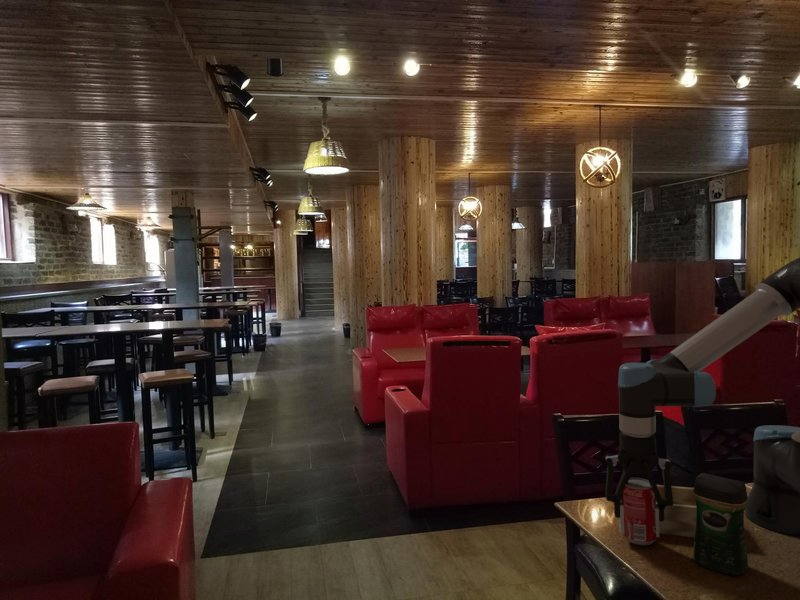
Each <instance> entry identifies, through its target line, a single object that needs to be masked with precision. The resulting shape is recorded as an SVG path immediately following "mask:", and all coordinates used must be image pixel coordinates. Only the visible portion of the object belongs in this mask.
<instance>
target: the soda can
mask: <svg viewBox="0 0 800 600" xmlns="http://www.w3.org/2000/svg"><path fill="white" fill-rule="evenodd" d="M652 487H653V486H651V485H650V483H649V480H648V479H645V478H642V477H630V479H629V481H628V484H627V485H626V484H625V488H624V490H623V497H622V500H621V501H622V505H623V506H624V534H622V535H623V536H624V538H625V539H626V540H627V541H628V542H629V543H631V544H634V545H639V546H648V545H652V544H653V543H655V542H656V541H657V538H658V537H656V511H655V508H656V498H655V492H654V490H653V489H652Z"/></svg>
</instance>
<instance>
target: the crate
mask: <svg viewBox="0 0 800 600" xmlns="http://www.w3.org/2000/svg"><path fill="white" fill-rule="evenodd" d="M656 485H657V488H658V490H659V493H660V495H661V498H662V499H663V498H665V492H664V484H656ZM671 488H672V496H673V506H666V507H665V509H664V521H659V535H661V534H662V535H669V534H670V535H669V536H671V535H673V536H680V537H681V536H682V537H689V538H695V531H696V520H697V507H696V502H695V499H694V496H693V490H694V487H687V486H675V485H671ZM656 504H657V501H656Z"/></svg>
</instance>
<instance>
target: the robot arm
mask: <svg viewBox="0 0 800 600" xmlns="http://www.w3.org/2000/svg"><path fill="white" fill-rule="evenodd" d="M799 309H800V257H797V258H795V259H793V260H791V261H789V263H786V264H785V265H783V266H781V267H780V268H779V269H777V270H776V271H774V272H773V273H771V274H770V275H769V276H767V277H765V278H764V279H763V280H761V281H760V282H758V283H757V284H756V286H755V291H754V292H752V293H751V294H750V295H748V296H747V297H745V298H744V299H743V300H741V301H739V303H737V304H736V305H734V306H733V307H732V308H730V309H729V310H727V311H726V312H724V313H723V314H721V315H720V316H719V317H718V318H716V319H715V320H713V321H711V323H709V324H708V325H705V327H704V328H702V329H700V330H699V331H697V333H695V334H694V335H692V336H691V337H689V338H687V340H685V341H684V342H683V343H681V344H679V345H678V346H676V347H675V348H674V349H673V350H671V351H670V352H668V353H667V354H665V355H664V356H663V357H661V358H659V359H655V358H654V359H650V360H648V361H646V362H625V363H623V364H621V365H620V366H619V369H618V377H617V378H618V383H617V387H618V407H619V408H618V410H619V411H618V414H619V415H618V421H619V423H618V424H619V426H618V427H619V430H620V431H619V436H618V438H619V450H618V453H617V454H615V455H610V454H607V455H605V462H606V465H607V468H606V470H607V471H606V481H605V482H606V483H605V493H604V494H605V495H604V496H605V499H606V501H608V502H612V503H613V513H614V517H615V518H619V519H618V522H619V523H618V525H619V532H620V534H621V535H623V534H624V506H623V505H622V501H621V500H622V497H623V490H624V488H625V484H626V485H627V484H628V481H629V479H630V478H632V477H631V476H632V475H641V476H646V478H647V480H648V481H649V483H650V485H651V486H653V487H652V489H653V490H654V492H655V498H656V501H657V504H656V508H655V511H656V537H657V538H660V533H659V521H664V509H665V507H666V506H673V496H672V488H671V486H672V479H671V471H672V467H673V464H672V462H671V461H670V459H669V458H661V457H659V456H658V455H657V436H656V434H655V433H656V432H657V426H656V425H657V424H656V423H657V419H656V418H657V416H656V414H657V411H656V408H657V407H694V408H697V407H708V406H711V405H712V404H713V403H714V401H715V399H716V395H717V391H716V383H715V381H714V378H713V376H712V375H711V374H710V373H708V372H705V371H703V370H704V369H705V368H706V367H708V366H710V365H711V364H712V363H714V362H715V361H716V360H718V359H719V358H721V357H722V356H724V355H725V354H727V353H728V352H730V351H731V350H732V349H735V347H737V346H738V345H741V343H742V342H745V341H746V340H747V339H749V338H750V337H751V336H753V335H754V334H756V333H758V332H759V331H760V330H761V329H763V328H764V327H766V326H767V325H769V324H770V323H772V322H773V321H774V320H776V319H778V318H779V317H780V316H786V317H788V316H790V315H791V314H793V313H794V312H795V311H797V310H799ZM752 441H753V485H752V487H751V490H750V492H749V494H748V495H747V496H748V503H747V506H746V508H745V510H744V516H745V517H746V518H747V519H748V520H749V521H751V522H752V523H754V524H756V525H758V526H761V527H762V528H764V529H766V530H767V529H768V530H771V531H774V532H778V533H782V534H786V535H787V534H788V535H796V536H800V427H799V426H791V425H780V424H779V425H778V424H777V425H776V424H774V425H773V424H772V425H770V424H768V425H760V426H757V427H756V428H755V429H754V435H753V440H752ZM617 462H619V463H620V464H621V465H622V467H623V470H622V473H621V475H620V479H619V482H618V484H617V487H616V489H615V493H614V494H613V489H614V479H615V478H614V477H615V475H614V474H615V467H616V466H617V465H618V463H617ZM657 464H658V465H659V468H660V469H661V472H662V474H661V475H662V480H663V481H662V482H663V485H664V492H665V498H663V499H662V498H661V495H660V493H659V490H658V488H657V485H658V484H657V483H656V480H655V477H654V476H653V475H654V474H653V473H652V471H653V470H654V468H655V467H656V466H657Z"/></svg>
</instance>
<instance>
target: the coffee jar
mask: <svg viewBox="0 0 800 600" xmlns="http://www.w3.org/2000/svg"><path fill="white" fill-rule="evenodd" d="M693 486H694V487H693V488H694V490H693V496H694V499H695V502H696V507H697V520H696V531H695V537H694V540H693V541H694V542H693V552H692V553H693V554H692V555H693V559H694V561H695V562H696V563H697V564H698V565H700V566H702V567H704V568H707V569H710V570H712V571H716V572H719V573H723V574H726V575H728V576H729V575H730V576H739V575H743V574H745V572H746V571H747V569H748V566H749V564H748V563H749V561H748V552H747V551H748V549H747V542H746V533H745V520H744V519H745V508H746V506H747V503H748V496H749V495H748V491H747V485H746V483H745V482H744V481H743V480H736V479H732V478H728V477H723V476H719V475H715V474H708V473H705V472H702V473H700V474H698V475H697V476H696V477H695V480H694V485H693Z"/></svg>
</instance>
